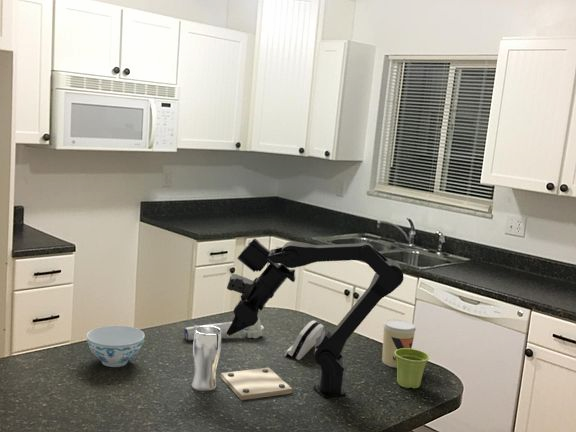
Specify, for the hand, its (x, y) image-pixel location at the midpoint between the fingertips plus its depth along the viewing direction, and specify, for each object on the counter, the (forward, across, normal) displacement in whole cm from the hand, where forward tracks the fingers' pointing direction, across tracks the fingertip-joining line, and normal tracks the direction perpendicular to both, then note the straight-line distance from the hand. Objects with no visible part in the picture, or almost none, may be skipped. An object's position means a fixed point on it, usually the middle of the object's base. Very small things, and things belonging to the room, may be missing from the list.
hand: (230, 328), depth 165 cm
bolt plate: (+8, +1, +14) cm, 16 cm away
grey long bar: (+16, -31, +3) cm, 35 cm away
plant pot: (-15, -11, +48) cm, 52 cm away
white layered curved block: (+2, -28, +24) cm, 37 cm away
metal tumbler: (+15, +5, +4) cm, 16 cm away
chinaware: (+29, -4, -18) cm, 35 cm away
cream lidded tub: (-14, -26, +47) cm, 55 cm away
